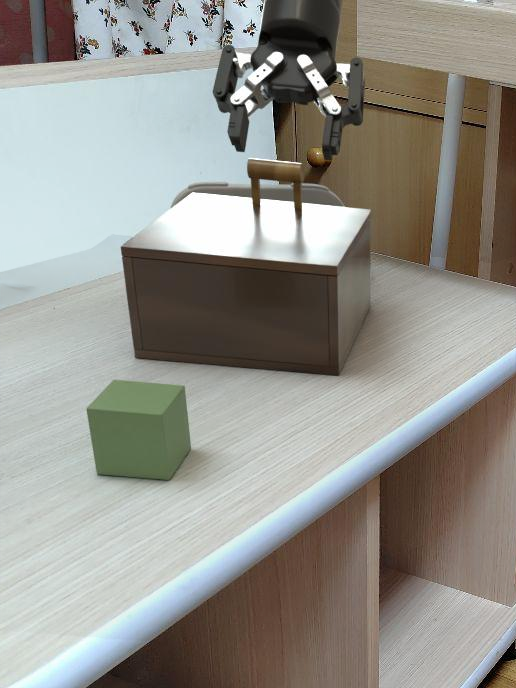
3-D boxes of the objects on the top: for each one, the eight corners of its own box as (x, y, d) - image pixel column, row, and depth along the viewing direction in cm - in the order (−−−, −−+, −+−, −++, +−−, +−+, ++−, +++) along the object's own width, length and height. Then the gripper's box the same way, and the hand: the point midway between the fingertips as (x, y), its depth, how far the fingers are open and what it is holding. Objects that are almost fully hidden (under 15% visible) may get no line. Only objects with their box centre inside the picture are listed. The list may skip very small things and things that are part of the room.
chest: (198, 291, 101) (190, 203, 97) (370, 307, 102) (370, 220, 97) (134, 357, 85) (121, 256, 81) (338, 375, 86) (337, 276, 82)
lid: (193, 200, 97) (188, 147, 95) (371, 217, 98) (372, 165, 96) (121, 256, 81) (113, 193, 78) (337, 276, 82) (336, 214, 79)
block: (96, 474, 68) (85, 408, 65) (122, 442, 72) (113, 379, 70) (169, 480, 68) (162, 414, 66) (191, 448, 72) (185, 385, 70)
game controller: (347, 255, 117) (347, 182, 112) (351, 261, 115) (350, 187, 110) (173, 256, 110) (165, 178, 106) (173, 262, 108) (165, 183, 104)
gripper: (376, 44, 104) (360, 181, 100) (240, 30, 103) (217, 167, 99) (369, -11, 96) (351, 134, 93) (222, -27, 96) (197, 119, 92)
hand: (282, 151), depth 96 cm, fingers open, 8 cm apart
